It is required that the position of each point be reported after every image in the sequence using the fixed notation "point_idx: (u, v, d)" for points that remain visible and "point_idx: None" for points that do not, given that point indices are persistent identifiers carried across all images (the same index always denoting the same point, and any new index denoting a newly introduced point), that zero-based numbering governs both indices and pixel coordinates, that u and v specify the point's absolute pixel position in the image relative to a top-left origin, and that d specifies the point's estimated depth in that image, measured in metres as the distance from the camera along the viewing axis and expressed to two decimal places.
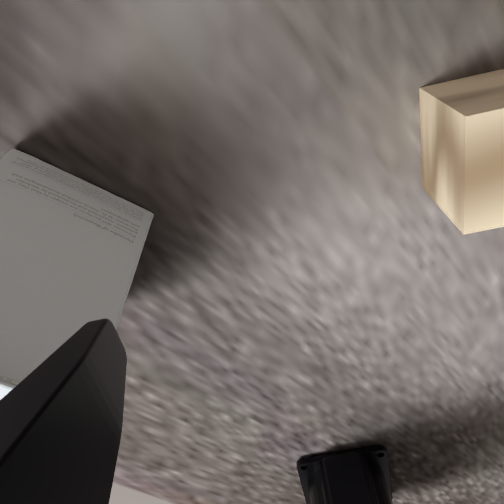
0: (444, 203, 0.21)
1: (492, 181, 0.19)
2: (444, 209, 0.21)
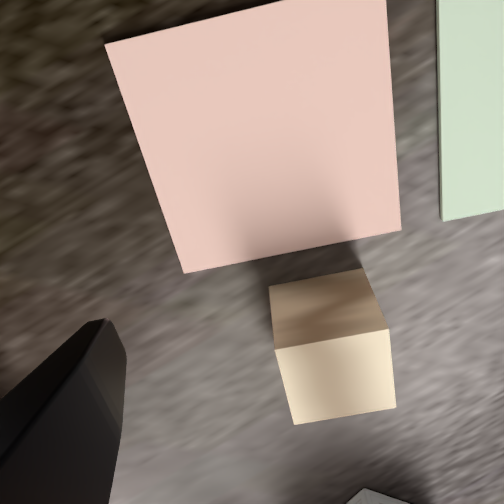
0: None
1: (349, 399, 0.23)
2: None
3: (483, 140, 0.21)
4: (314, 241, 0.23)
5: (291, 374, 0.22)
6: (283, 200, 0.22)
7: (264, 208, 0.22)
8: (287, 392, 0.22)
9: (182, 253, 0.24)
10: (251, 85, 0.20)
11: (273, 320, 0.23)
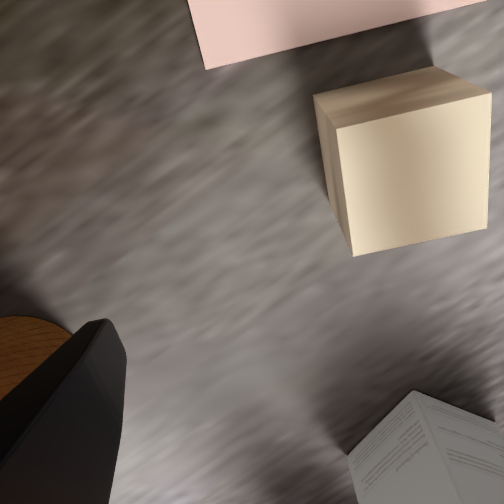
0: None
1: (427, 214, 0.17)
2: None
3: None
4: (376, 17, 0.18)
5: (355, 172, 0.16)
6: None
7: None
8: (348, 202, 0.17)
9: (204, 36, 0.18)
10: None
11: (327, 112, 0.17)
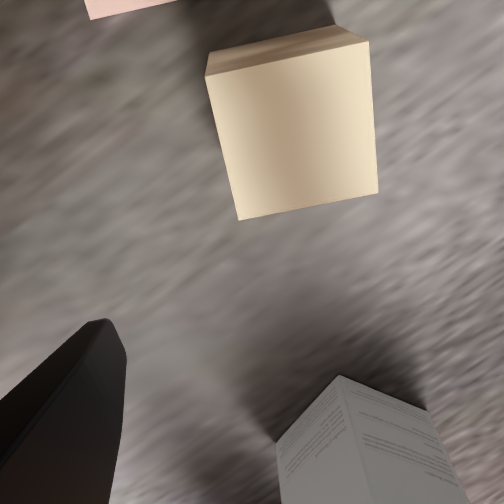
0: None
1: (313, 176, 0.16)
2: None
3: None
4: None
5: (231, 126, 0.15)
6: None
7: None
8: (226, 160, 0.16)
9: None
10: None
11: (209, 64, 0.16)
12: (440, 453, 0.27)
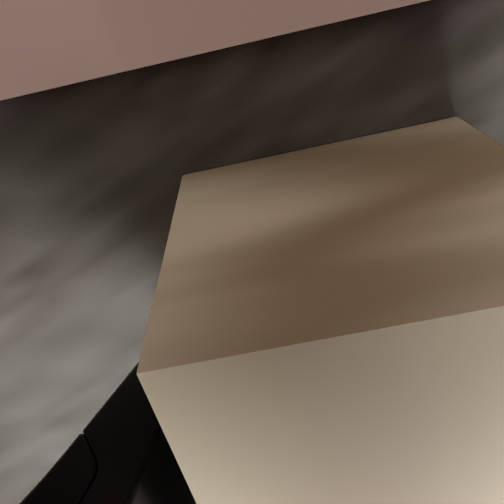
0: None
1: None
2: None
3: None
4: (315, 2, 0.07)
5: (224, 470, 0.05)
6: None
7: None
8: None
9: None
10: None
11: (168, 258, 0.06)
12: None
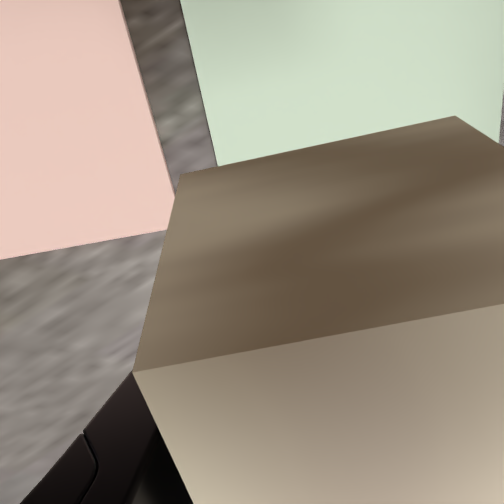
0: None
1: None
2: None
3: (258, 122, 0.18)
4: (82, 237, 0.20)
5: (221, 470, 0.05)
6: (33, 187, 0.19)
7: (12, 196, 0.19)
8: None
9: None
10: None
11: (165, 257, 0.06)
12: None
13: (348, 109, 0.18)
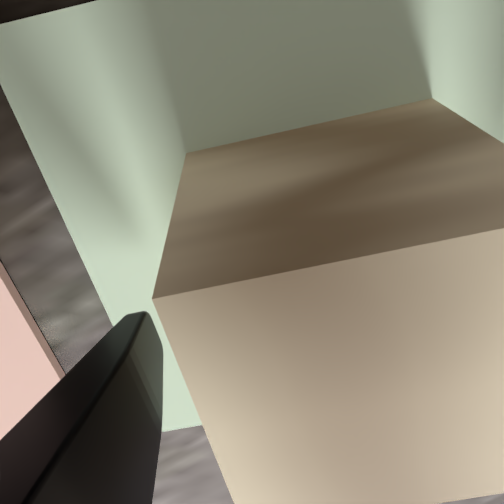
0: None
1: (414, 465, 0.07)
2: None
3: None
4: None
5: (224, 390, 0.06)
6: None
7: None
8: (217, 447, 0.07)
9: None
10: None
11: (175, 217, 0.07)
12: None
13: None
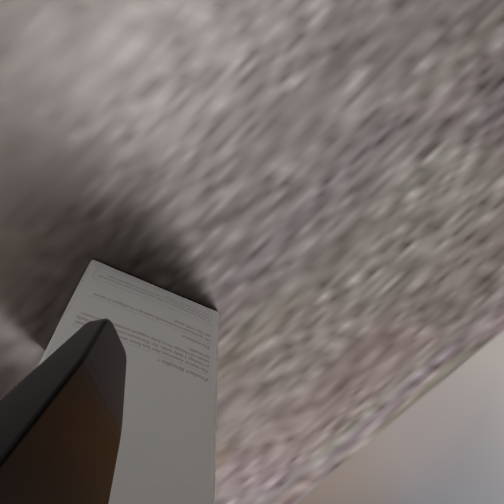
0: None
1: None
2: None
3: None
4: None
5: None
6: None
7: None
8: None
9: None
10: None
11: None
12: (204, 348, 0.22)
13: None
